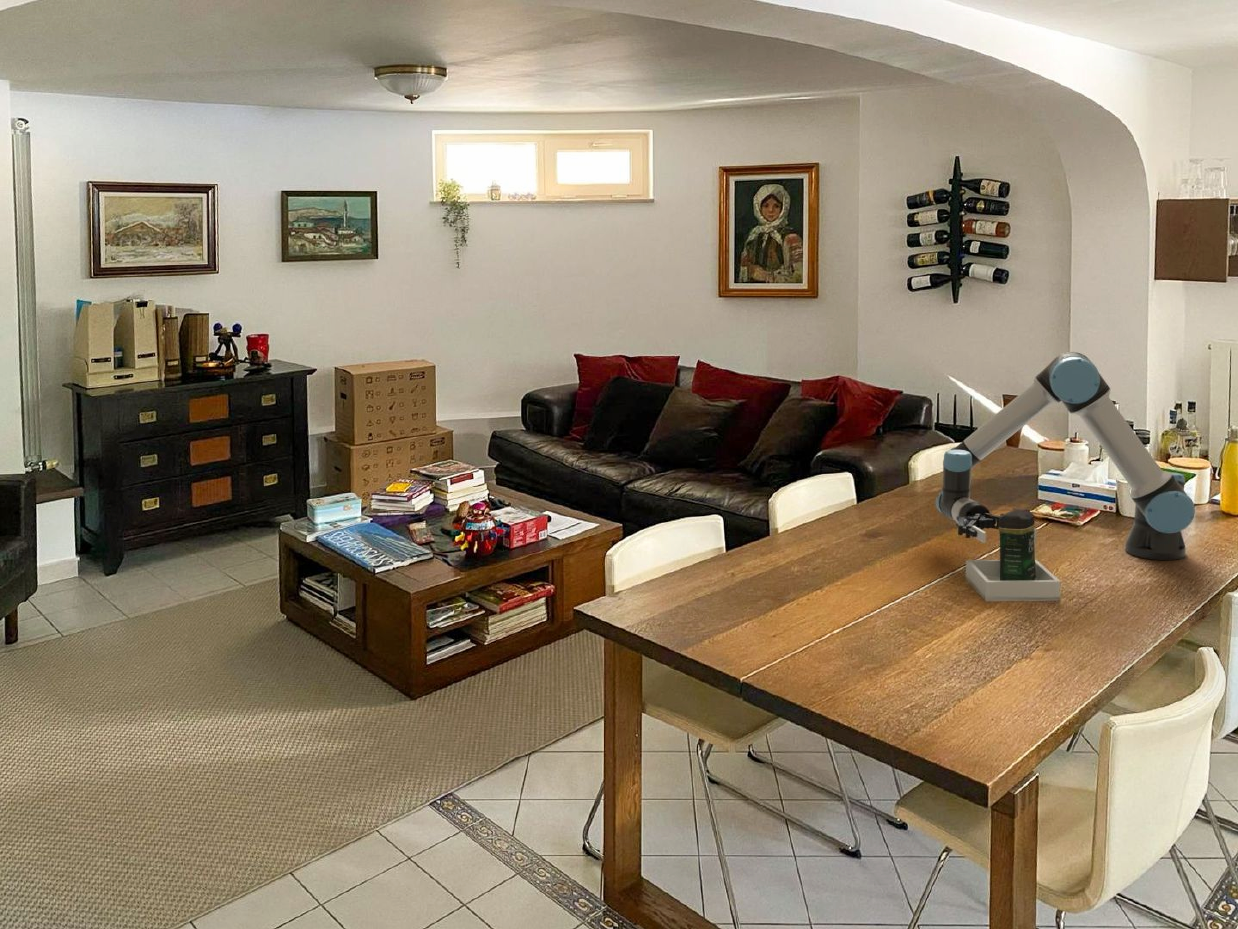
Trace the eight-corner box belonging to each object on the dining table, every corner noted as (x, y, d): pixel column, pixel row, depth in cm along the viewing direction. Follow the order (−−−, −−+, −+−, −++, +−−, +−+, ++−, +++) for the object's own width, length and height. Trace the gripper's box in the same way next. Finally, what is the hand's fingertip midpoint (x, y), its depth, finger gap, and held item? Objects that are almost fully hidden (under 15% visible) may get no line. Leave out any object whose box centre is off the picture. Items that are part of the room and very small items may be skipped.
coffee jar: (1027, 588, 267) (1025, 516, 265) (996, 585, 272) (993, 514, 270) (1040, 578, 275) (1038, 507, 272) (1009, 575, 280) (1007, 506, 277)
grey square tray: (1034, 577, 281) (1035, 559, 280) (1059, 600, 263) (1060, 581, 262) (965, 578, 282) (966, 560, 281) (985, 601, 264) (986, 582, 263)
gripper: (1013, 525, 294) (1054, 547, 274) (927, 530, 291) (962, 553, 270) (1015, 498, 293) (1056, 518, 272) (928, 504, 289) (964, 524, 269)
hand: (1009, 536), depth 271 cm, fingers open, 13 cm apart
